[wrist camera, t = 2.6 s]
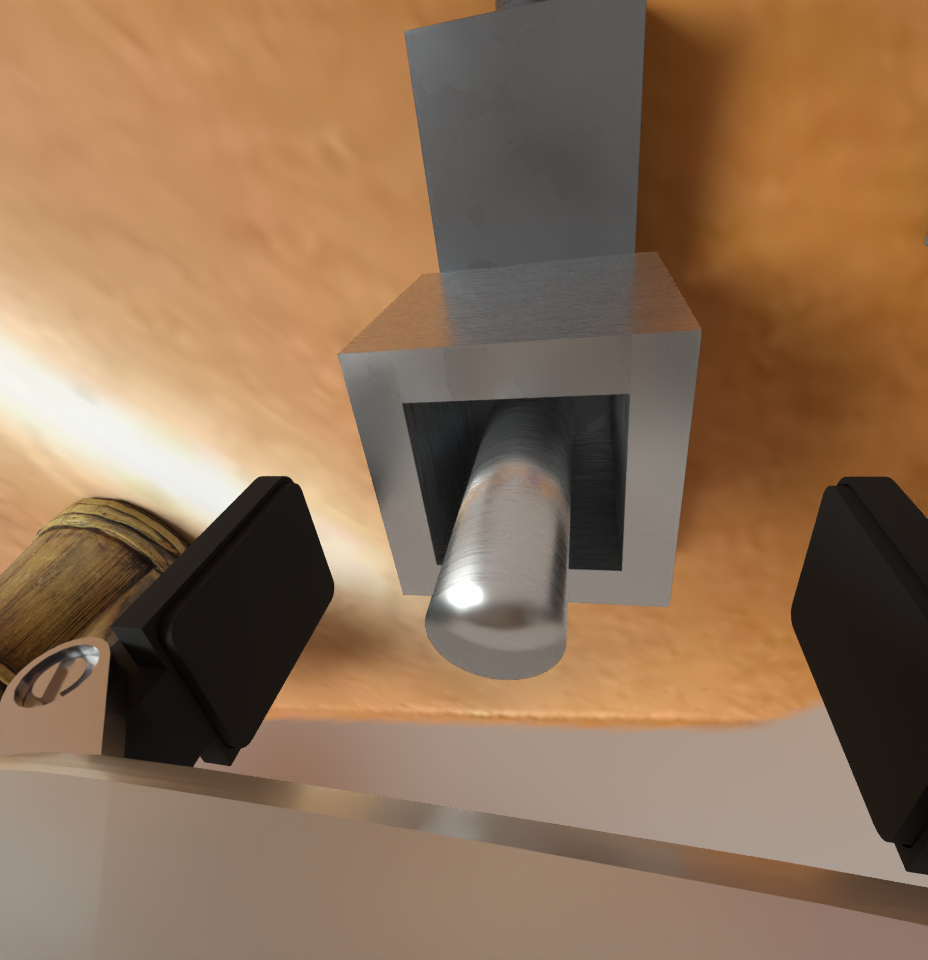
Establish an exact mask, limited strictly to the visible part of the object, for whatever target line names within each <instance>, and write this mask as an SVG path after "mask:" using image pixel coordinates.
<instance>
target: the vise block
mask: <svg viewBox="0 0 928 960" xmlns="http://www.w3.org/2000/svg"><path fill="white" fill-rule="evenodd" d="M495 5H496V11H495V12H491V13H486V14H481V15H477V16H472V17H467V18H463V19H458V20H453V21H449V22H444V23H439V24H435V25H430V26H425V27H421V28H416V29H411V30H406V31H404V34H405V41H406V48H407V54H408V61H409V68H410V75H411V81H412V88H413V95H414V101H415V108H416V115H417V121H418V128H419V135H420V142H421V148H422V155H423V162H424V168H425V175H426V182H427V189H428V195H429V202H430V209H431V215H432V222H433V229H434V235H435V242H436V249H437V256H438V262H439V269H440V273H441V272H451V271H461V270H471V269H481V268H491V267H501V266H511V265H521V264H531V263H541V262H551V261H561V260H571V259H581V258H591V257H600V256H610V255H620V254H630V253H635V243H636V221H637V198H638V175H639V153H640V130H641V108H642V85H643V63H644V40H645V17H646V0H495ZM610 403H611V394H610V395H586V396H562V397H538V398H514V399H490V400H475V404H476V411H477V419H478V427H479V434H480V435H483V438H482V441H481V444H480V447H479V450H478V454H477V457H476V460H475V463H474V466H473V469H472V472H471V475H470V479H469V482H468V485H467V488H466V491H465V494H464V497H463V501H462V504H461V507H460V510H459V513H458V516H457V519H456V523H455V526H454V529H453V532H452V535H451V538H450V541H449V544H448V548H447V551H446V554H445V557H444V560H443V563H442V566H441V570H440V573H439V576H438V579H437V582H436V585H435V588H434V592H433V595H432V598H431V601H430V604H429V607H428V610H427V614H426V618H425V628H426V632H427V635H428V638H429V640H430V642H431V643H432V645H433V646H434V648H435V649H436V650H437V651H438V652H439V653H440V654H441V655H442V656H443V657H444V658H445V659H447V660H448V661H449V662H451V663H452V664H454V665H456V666H457V667H459V668H461V669H463V670H465V671H468V672H470V673H473V674H476V675H479V676H483V677H487V678H492V679H500V680H518V679H525V678H530V677H534V676H537V675H540V674H542V673H544V672H546V671H548V670H549V669H551V668H552V667H553V666H554V665H556V664H557V663H558V661H559V660H560V659H561V658H562V656H563V654H564V651H565V648H566V634H567V603H568V571H569V540H570V508H571V477H572V445H573V433H587V432H610Z"/></svg>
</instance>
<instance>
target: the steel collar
mask: <svg viewBox="0 0 928 960" xmlns="http://www.w3.org/2000/svg"><path fill="white" fill-rule="evenodd" d="M701 336H702V329H701V327H700V325H699V323H698V322H697V320H696V318H695V316H694V315H693V313H692V311H691V310H690V308H689V306H688V304H687V303H686V301H685V299H684V298H683V296H682V294H681V292H680V291H679V289H678V287H677V285H676V284H675V282H674V280H673V279H672V277H671V275H670V273H669V272H668V270H667V268H666V266H665V265H664V263H663V261H662V260H661V258H660V256H659V254H658V253H657V251H650V252H640V253H630V254H620V255H610V256H600V257H591V258H581V259H571V260H561V261H551V262H541V263H531V264H521V265H511V266H501V267H491V268H481V269H471V270H461V271H451V272H441V273H431V274H422V275H421V276H420V277H419V278H418V279H417V280H416V281H415V282H414V283H413V284H412V285H410V286H409V287H408V288H407V289H406V290H405V291H404V292H403V293H402V294H401V295H400V296H399V297H398V298H397V299H396V300H395V301H393V302H392V303H391V304H390V305H389V306H388V307H387V308H386V309H385V310H384V311H383V312H382V313H381V314H380V315H379V316H377V317H376V318H375V319H374V320H373V321H372V322H371V323H370V324H369V325H368V326H367V327H366V328H365V329H364V330H363V331H362V332H360V333H359V334H358V335H357V336H356V337H355V338H354V339H353V340H352V341H351V342H350V343H349V344H348V345H347V346H346V347H345V348H343V349H342V350H341V351H340V352H339V353H338V358H339V361H340V365H341V369H342V372H343V376H344V380H345V383H346V387H347V391H348V394H349V398H350V402H351V405H352V409H353V412H354V416H355V420H356V423H357V427H358V431H359V434H360V438H361V442H362V445H363V449H364V453H365V456H366V460H367V464H368V467H369V471H370V475H371V478H372V482H373V486H374V489H375V493H376V497H377V500H378V504H379V508H380V511H381V515H382V519H383V522H384V526H385V529H386V533H387V537H388V540H389V544H390V548H391V551H392V555H393V559H394V562H395V566H396V570H397V573H398V577H399V581H400V584H401V588H402V592H403V595H422V596H432V595H433V592H434V588H435V585H436V582H437V579H438V576H439V573H440V570H441V566H442V563H443V560H444V557H445V554H446V551H447V548H448V544H449V541H450V538H451V535H452V532H453V529H454V526H455V523H456V519H457V516H458V513H459V510H460V507H461V504H462V501H463V497H464V494H465V491H466V488H467V485H468V482H469V479H470V475H471V472H472V469H473V466H474V463H475V460H476V457H477V454H478V450H479V447H480V444H481V441H482V438H483V435H480V434H479V427H478V419H477V411H476V404H475V400H490V399H514V398H538V397H562V396H586V395H610V394H611V403H610V432H587V433H573V445H572V477H571V508H570V540H569V571H568V602H572V603H593V604H615V605H636V606H658V607H669V605H670V597H671V588H672V580H673V571H674V563H675V555H676V546H677V538H678V529H679V521H680V513H681V504H682V496H683V487H684V479H685V471H686V462H687V454H688V445H689V437H690V428H691V420H692V412H693V403H694V395H695V386H696V378H697V370H698V361H699V353H700V344H701Z"/></svg>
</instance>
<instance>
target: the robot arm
mask: <svg viewBox="0 0 928 960" xmlns="http://www.w3.org/2000/svg"><path fill="white" fill-rule="evenodd" d="M333 594H334V581H333V578H332V575H331V572H330V570H329V567H328V564H327V561H326V558H325V555H324V552H323V549H322V547H321V544H320V541H319V538H318V535H317V532H316V529H315V527H314V524H313V521H312V518H311V515H310V512H309V509H308V506H307V504H306V501H305V498H304V495H303V492H302V490H301V488H300V486H299V485H298V484H295V483H294V482H293V481H292V479H291V478H289V477H287V476H262V477H258V478H257V479H255V480H254V481H253V482H252V483H251V484H250V485H249V486H248V487H247V488H246V489H245V491H244V492H243V493H242V494H241V495H240V496H239V497H238V498H237V499H236V500H235V501H234V502H233V503H232V504H231V505H230V506H229V507H228V508H227V509H226V510H225V511H224V512H223V513H222V514H221V515H220V516H219V517H218V518H217V519H216V520H215V521H214V522H213V523H212V524H211V525H210V526H209V527H208V528H207V529H206V530H205V531H204V532H203V533H202V534H201V535H200V536H199V537H198V538H197V539H196V540H195V541H194V542H193V543H192V544H191V545H190V546H189V547H188V548H187V549H186V550H185V551H184V552H183V553H182V554H181V555H180V556H179V557H178V558H177V559H176V560H175V561H174V562H173V563H172V564H171V565H170V566H169V567H168V568H167V569H166V570H165V571H164V572H163V573H162V574H161V575H160V576H159V577H158V578H157V579H156V580H155V581H154V582H153V583H152V584H151V585H150V586H149V587H148V588H147V589H146V590H145V591H144V592H143V593H142V594H141V595H140V596H139V597H138V598H137V599H136V600H135V601H134V602H133V603H132V604H131V605H130V607H129V608H128V609H127V610H126V611H125V612H124V613H123V614H122V615H121V616H120V617H119V618H118V619H117V620H116V621H115V622H114V623H113V624H112V625H111V626H110V627H111V629H112V630H113V632H114V633H115V634H116V636H117V637H118V639H119V640H118V641H117V642H116V643H115V644H114V645H113V646H112V647H110V645H109V644H108V643H107V642H106V641H104V640H103V639H101V638H95V637H87V638H79V639H75V640H72V641H69V642H66V643H63V644H61V645H59V646H57V647H55V648H53V649H51V650H49V651H47V652H45V653H44V654H42V655H41V656H39V657H38V658H36V659H35V660H33V661H32V662H31V663H29V664H28V665H27V666H26V667H25V668H24V669H22V670H21V671H20V672H19V673H18V674H17V675H16V676H15V678H14V679H13V680H12V681H11V682H10V683H9V685H8V686H7V688H6V690H5V692H4V694H3V696H2V698H1V702H0V960H928V888H927V887H921V886H916V885H910V884H905V883H899V882H894V881H888V880H882V879H877V878H871V877H866V876H860V875H855V874H849V873H844V872H838V871H833V870H827V869H822V868H816V867H810V866H805V865H799V864H794V863H788V862H782V861H777V860H771V859H765V858H759V857H753V856H747V855H741V854H734V853H728V852H722V851H716V850H710V849H704V848H698V847H691V846H686V845H680V844H674V843H667V842H662V841H655V840H649V839H643V838H637V837H631V836H625V835H619V834H613V833H606V832H601V831H594V830H588V829H582V828H576V827H570V826H564V825H558V824H552V823H545V822H539V821H532V820H527V819H520V818H514V817H508V816H502V815H495V814H489V813H483V812H477V811H470V810H464V809H458V808H452V807H445V806H439V805H432V804H426V803H420V802H414V801H408V800H401V799H395V798H389V797H381V796H376V795H370V794H363V793H357V792H351V791H344V790H338V789H331V788H325V787H318V786H312V785H306V784H299V783H292V782H286V781H279V780H273V779H266V778H260V777H253V776H246V775H240V774H234V773H227V772H221V771H214V770H208V769H201V768H194V767H193V766H194V764H195V763H196V761H197V760H198V758H199V757H201V758H202V760H203V761H204V762H207V763H213V764H220V765H226V766H231V765H232V763H233V761H234V760H235V758H236V756H237V754H238V753H239V751H240V749H241V748H244V747H246V746H247V745H248V744H249V743H250V742H251V740H252V739H253V737H254V736H255V734H256V732H257V730H258V729H259V727H260V725H261V723H262V721H263V720H264V718H265V716H266V714H267V713H268V711H269V709H270V707H271V706H272V704H273V702H274V700H275V699H276V697H277V695H278V693H279V691H280V690H281V688H282V686H283V684H284V683H285V681H286V679H287V677H288V676H289V674H290V672H291V670H292V669H293V667H294V665H295V663H296V662H297V660H298V658H299V656H300V654H301V653H302V651H303V649H304V647H305V646H306V644H307V642H308V640H309V639H310V637H311V635H312V633H313V632H314V630H315V628H316V626H317V624H318V623H319V621H320V619H321V617H322V616H323V614H324V612H325V610H326V609H327V607H328V605H329V603H330V602H331V600H332V597H333ZM791 620H792V625H793V629H794V631H795V634H796V636H797V639H798V641H799V643H800V646H801V648H802V651H803V653H804V656H805V658H806V660H807V663H808V665H809V668H810V670H811V673H812V675H813V678H814V680H815V682H816V685H817V687H818V690H819V692H820V695H821V697H822V699H823V702H824V704H825V707H826V709H827V712H828V714H829V716H830V719H831V721H832V724H833V726H834V729H835V731H836V734H837V736H838V738H839V741H840V743H841V746H842V748H843V751H844V753H845V756H846V758H847V760H848V763H849V765H850V768H851V770H852V773H853V775H854V777H855V780H856V782H857V785H858V787H859V790H860V792H861V795H862V797H863V799H864V802H865V804H866V807H867V809H868V812H869V814H870V816H871V819H872V821H873V824H874V826H875V828H876V830H877V832H878V834H879V835H880V836H881V838H882V839H883V840H885V841H886V842H892V843H894V844H895V846H896V848H897V851H898V853H899V855H900V858H901V860H902V862H903V865H904V867H905V870H906V871H907V872H914V873H919V874H926V875H928V519H927V518H926V517H925V516H924V514H923V513H922V512H921V511H920V510H919V509H918V508H917V507H916V505H915V504H914V503H913V502H912V501H911V500H910V499H909V497H908V496H907V495H906V494H905V493H904V492H903V491H902V490H901V488H900V487H899V486H898V485H897V484H896V483H895V482H894V481H893V480H892V479H891V478H889V477H844V478H842V479H841V480H840V481H839V482H838V484H837V486H829V487H827V488H826V490H825V492H824V494H823V498H822V501H821V505H820V508H819V512H818V515H817V519H816V522H815V526H814V529H813V533H812V536H811V540H810V543H809V547H808V550H807V554H806V558H805V561H804V565H803V568H802V572H801V575H800V579H799V582H798V586H797V589H796V593H795V596H794V600H793V603H792V608H791Z"/></svg>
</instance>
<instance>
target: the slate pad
mask: <svg viewBox="0 0 928 960" xmlns="http://www.w3.org/2000/svg"><path fill="white" fill-rule="evenodd" d="M924 245H927V246H928V233H927V236H926V239H925V242H924Z"/></svg>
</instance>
